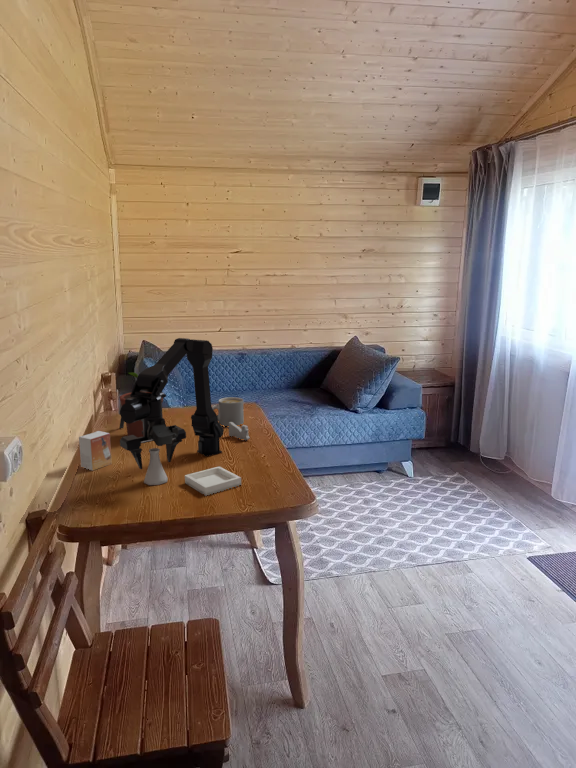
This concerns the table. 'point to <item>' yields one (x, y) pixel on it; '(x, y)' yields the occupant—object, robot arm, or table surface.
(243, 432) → the grey tape dispenser
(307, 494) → the table surface
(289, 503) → the table surface
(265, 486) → the table surface
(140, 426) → the potted plant
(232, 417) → the coffee mug
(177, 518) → the table surface
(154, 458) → the flask
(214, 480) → the shaker caddy
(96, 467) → the small box
